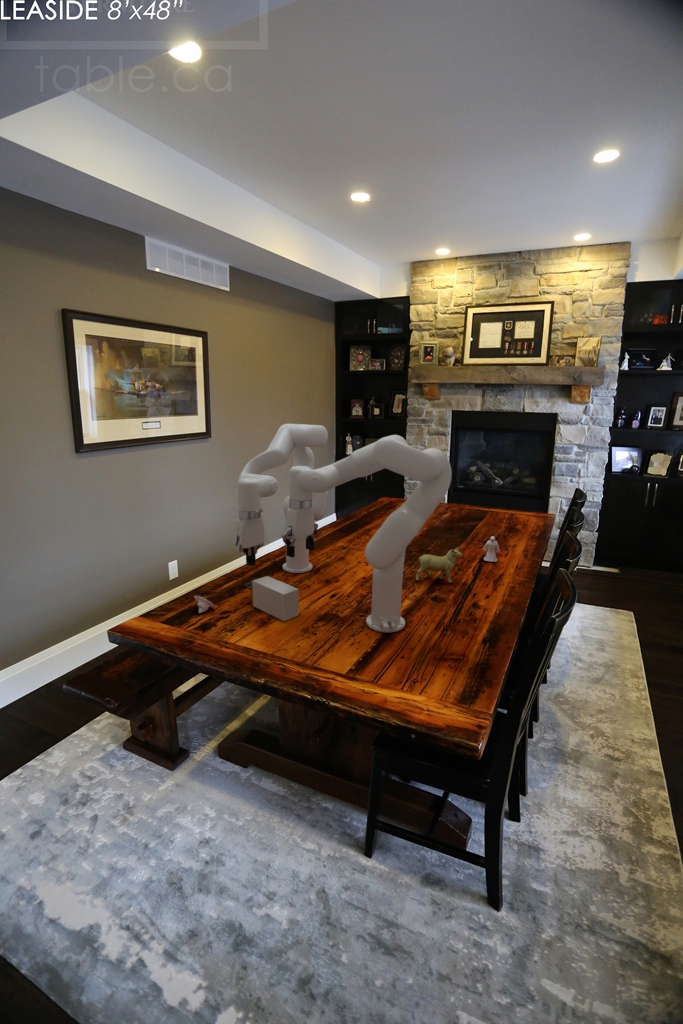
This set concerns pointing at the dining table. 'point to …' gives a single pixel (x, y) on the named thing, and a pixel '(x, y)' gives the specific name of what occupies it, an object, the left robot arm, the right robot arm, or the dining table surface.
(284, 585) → the cabinet
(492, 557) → the figurine
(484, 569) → the dining table surface
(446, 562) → the toy
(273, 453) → the left robot arm
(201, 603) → the seashell
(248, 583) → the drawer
